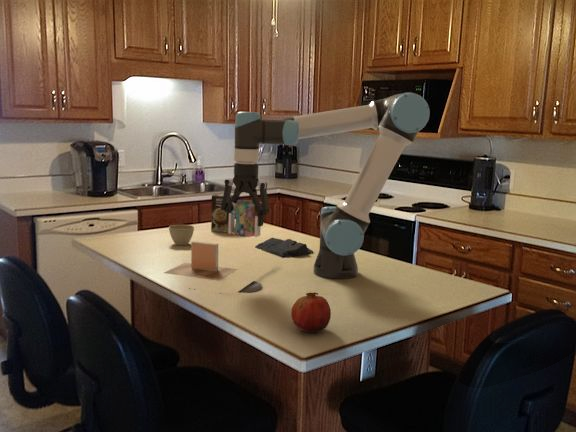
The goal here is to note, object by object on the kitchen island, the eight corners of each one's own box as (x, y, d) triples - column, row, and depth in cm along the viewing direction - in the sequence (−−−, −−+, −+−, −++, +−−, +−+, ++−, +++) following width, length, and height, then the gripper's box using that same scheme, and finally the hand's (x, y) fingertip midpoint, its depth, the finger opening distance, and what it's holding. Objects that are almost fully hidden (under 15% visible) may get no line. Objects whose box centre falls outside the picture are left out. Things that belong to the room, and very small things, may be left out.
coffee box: (210, 231, 266) (210, 195, 263) (214, 228, 272) (215, 193, 269) (230, 232, 264) (230, 196, 261) (234, 229, 270) (234, 194, 267)
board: (237, 273, 199) (237, 269, 199) (219, 284, 186) (219, 280, 186) (184, 266, 205) (184, 262, 205) (163, 277, 192) (163, 272, 192)
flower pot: (199, 243, 241) (199, 226, 239) (182, 248, 232) (182, 230, 231) (180, 240, 246) (180, 223, 245) (163, 244, 238) (163, 227, 236)
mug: (233, 231, 192) (233, 199, 191) (261, 232, 192) (262, 200, 190) (228, 239, 181) (229, 205, 179) (258, 240, 180) (259, 206, 179)
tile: (218, 270, 197) (218, 243, 196) (215, 271, 195) (215, 244, 194) (193, 266, 200) (194, 240, 198) (191, 268, 198) (191, 242, 197)
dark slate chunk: (282, 243, 247) (282, 232, 246) (316, 254, 230) (317, 242, 229) (252, 248, 238) (252, 236, 237) (285, 260, 221) (285, 247, 220)
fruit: (312, 342, 143) (314, 302, 141) (282, 331, 149) (283, 292, 147) (339, 330, 150) (341, 292, 149) (309, 320, 157) (310, 284, 155)
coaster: (267, 284, 188) (267, 282, 188) (253, 294, 178) (253, 292, 177) (235, 280, 191) (235, 278, 191) (220, 289, 181) (220, 287, 181)
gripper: (282, 164, 182) (279, 236, 186) (221, 159, 190) (220, 228, 194) (273, 166, 175) (270, 240, 179) (210, 160, 183) (208, 232, 187)
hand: (244, 234), depth 186 cm, fingers closed on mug, 8 cm apart
